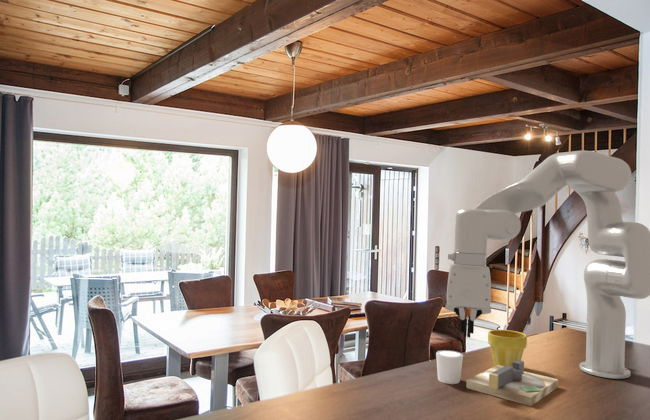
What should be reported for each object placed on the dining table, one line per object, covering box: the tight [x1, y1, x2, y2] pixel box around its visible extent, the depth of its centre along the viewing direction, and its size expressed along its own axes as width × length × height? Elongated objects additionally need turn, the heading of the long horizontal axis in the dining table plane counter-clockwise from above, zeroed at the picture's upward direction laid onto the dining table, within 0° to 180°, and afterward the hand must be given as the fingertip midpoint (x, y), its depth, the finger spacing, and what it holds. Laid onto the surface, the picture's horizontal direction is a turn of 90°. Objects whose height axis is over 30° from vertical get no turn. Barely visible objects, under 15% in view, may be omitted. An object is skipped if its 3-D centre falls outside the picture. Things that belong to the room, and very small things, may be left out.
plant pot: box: [487, 329, 528, 367], centre depth 143 cm, size 10×10×10 cm
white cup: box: [435, 349, 464, 385], centre depth 131 cm, size 7×7×7 cm
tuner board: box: [466, 365, 559, 407], centre depth 127 cm, size 18×16×2 cm
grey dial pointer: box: [489, 360, 525, 389], centre depth 125 cm, size 16×4×3 cm, turn 137°
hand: (466, 335), depth 122 cm, fingers closed
